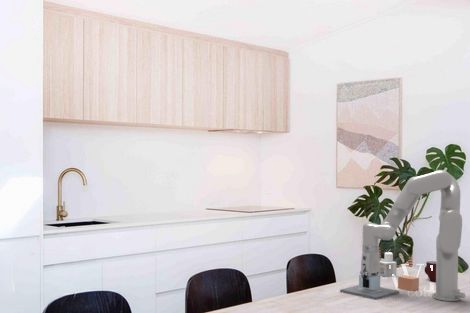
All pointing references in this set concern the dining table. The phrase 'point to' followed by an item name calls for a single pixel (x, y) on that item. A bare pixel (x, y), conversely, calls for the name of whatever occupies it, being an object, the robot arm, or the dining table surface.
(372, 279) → the blue brick
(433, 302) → the dining table surface
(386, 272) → the container
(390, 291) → the baseplate
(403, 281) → the terracotta brick
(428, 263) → the mug
